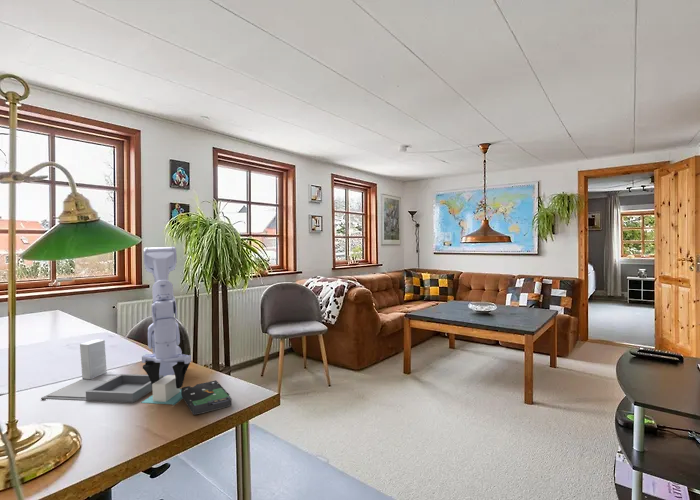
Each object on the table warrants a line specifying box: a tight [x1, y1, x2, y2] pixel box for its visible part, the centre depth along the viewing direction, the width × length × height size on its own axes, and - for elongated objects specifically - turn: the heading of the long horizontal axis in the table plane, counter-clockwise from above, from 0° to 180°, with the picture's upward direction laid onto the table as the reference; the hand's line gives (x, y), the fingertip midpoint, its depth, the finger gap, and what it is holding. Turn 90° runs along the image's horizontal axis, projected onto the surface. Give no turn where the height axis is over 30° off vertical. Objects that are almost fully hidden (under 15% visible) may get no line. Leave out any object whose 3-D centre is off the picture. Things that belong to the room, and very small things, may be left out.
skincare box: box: [79, 338, 107, 380], centre depth 131 cm, size 6×4×12 cm
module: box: [152, 374, 181, 402], centre depth 112 cm, size 7×4×5 cm, turn 172°
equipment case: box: [40, 373, 163, 404], centre depth 117 cm, size 14×30×3 cm, turn 82°
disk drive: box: [180, 380, 232, 415], centre depth 108 cm, size 10×3×15 cm
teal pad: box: [140, 388, 184, 406], centre depth 112 cm, size 10×10×1 cm
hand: (167, 386), depth 112 cm, fingers open, 7 cm apart
